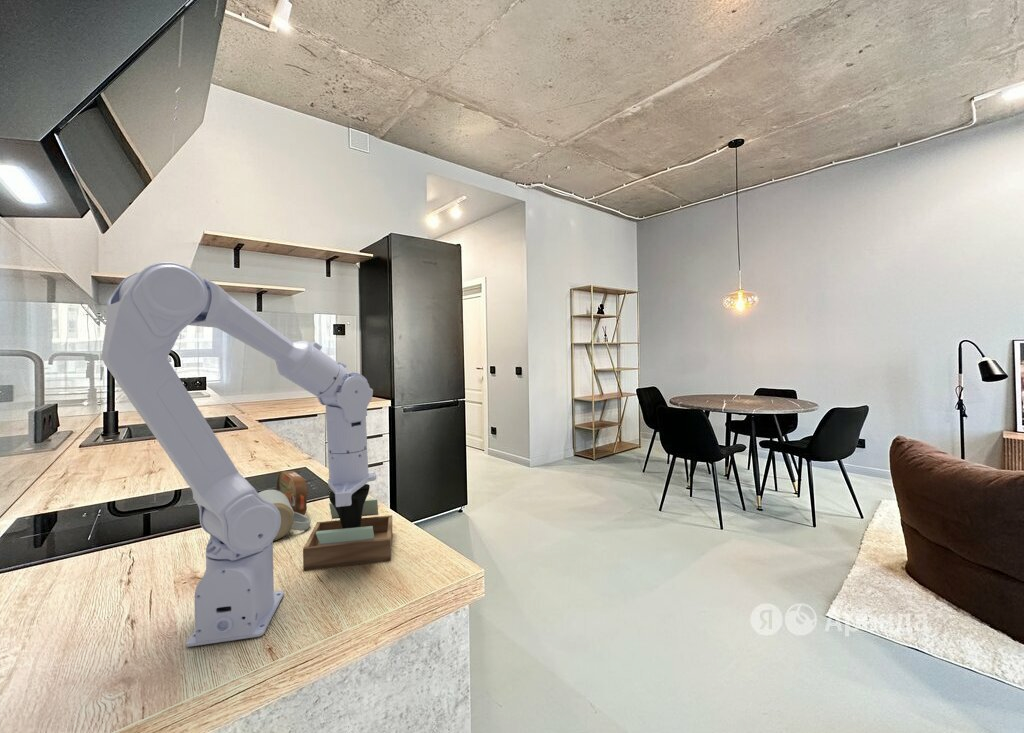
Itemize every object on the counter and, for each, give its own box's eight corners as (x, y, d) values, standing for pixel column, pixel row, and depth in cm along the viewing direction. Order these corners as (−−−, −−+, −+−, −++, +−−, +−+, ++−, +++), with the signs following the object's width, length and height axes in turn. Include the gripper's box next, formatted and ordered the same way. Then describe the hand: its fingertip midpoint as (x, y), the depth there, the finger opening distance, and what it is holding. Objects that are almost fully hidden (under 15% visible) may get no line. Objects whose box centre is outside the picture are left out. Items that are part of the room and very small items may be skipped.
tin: (275, 505, 96) (274, 468, 95) (291, 502, 98) (290, 465, 97) (293, 525, 84) (292, 483, 84) (310, 521, 86) (309, 480, 86)
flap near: (320, 542, 67) (320, 545, 67) (316, 530, 64) (315, 534, 63) (374, 536, 69) (374, 540, 69) (372, 525, 66) (372, 528, 65)
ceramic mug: (250, 549, 74) (250, 504, 74) (243, 533, 80) (243, 492, 80) (315, 533, 81) (315, 493, 80) (304, 520, 87) (305, 483, 87)
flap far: (378, 515, 79) (378, 513, 80) (377, 500, 77) (377, 497, 77) (331, 519, 77) (332, 517, 78) (329, 503, 75) (329, 501, 75)
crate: (390, 560, 69) (390, 539, 69) (303, 570, 66) (302, 548, 66) (392, 533, 80) (392, 515, 80) (317, 540, 77) (317, 522, 77)
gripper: (371, 459, 60) (375, 553, 61) (377, 437, 74) (381, 513, 75) (317, 463, 58) (322, 560, 59) (334, 440, 72) (338, 518, 73)
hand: (352, 534), depth 67 cm, fingers closed, pressing on flap near
